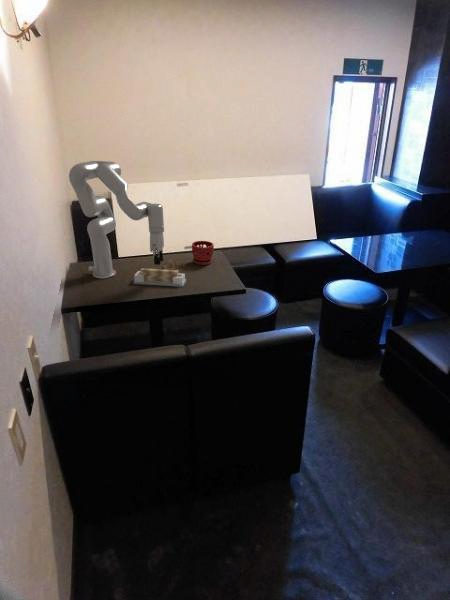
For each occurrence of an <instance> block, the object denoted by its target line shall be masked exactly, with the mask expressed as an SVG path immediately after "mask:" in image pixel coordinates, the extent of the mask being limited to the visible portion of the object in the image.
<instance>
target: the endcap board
mask: <svg viewBox="0 0 450 600" xmlns="http://www.w3.org/2000/svg"><path fill="white" fill-rule="evenodd" d="M178 274H179V277H173V282H162V281H145V279H144V275H141V270H138V271H136V273H135V274H134V277H133V278H134V280H133V284H134V285H149V286H150V285H151V286H167V287H184V285H185V284H186V283H187V279H186V274H185V273H181V272H180V273H178Z"/></svg>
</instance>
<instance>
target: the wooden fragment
mask: <svg viewBox="0 0 450 600" xmlns="http://www.w3.org/2000/svg"><path fill="white" fill-rule="evenodd" d="M181 266H182V265H181V263H180V262H179V261H177V260H174V259H168V261H167V262H166V263H164V265H163V266H162V267H161V269H164V270H178V273H181V270H180V267H181Z"/></svg>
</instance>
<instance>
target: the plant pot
mask: <svg viewBox="0 0 450 600" xmlns="http://www.w3.org/2000/svg"><path fill="white" fill-rule="evenodd" d="M204 246H205V247H204ZM214 247H215V245H214V243H213V242H211V241H209V240H197V241H194V242H192V243H191V253H192V256H193V257H192V258H193V259H192V261H193V263H194V264H196V265H201V266H202V265H209V264H211V263H212V260H213V259H212V257H213V255H214Z"/></svg>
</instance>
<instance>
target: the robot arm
mask: <svg viewBox="0 0 450 600" xmlns="http://www.w3.org/2000/svg"><path fill="white" fill-rule="evenodd" d="M121 175H122V169H121V166H120V165H119V164H118V163H116V162H114V161H105V160H104V161H103V160H92V161H86V162H85V161H84V162H79V163H76V164H75V165H73V166H72V167H71V169H70V170H69V173H68V178H69V182H70V185H71V187H72V189H73V190H74V192H75V194H76V197H77V201H78V203H79V205H80V207H81V210H82V212H83V214H84V215H85V216H86V217H88V218H92V217H93V218H94V217H96V216H97V218H94V219H92V220H91V221H89V222H88V224H87V226H86V227H87V228H86V230H87V234H88V237H89V239H90V245H91V251H92V258H93V266H88V271H89V272H92V277H93V278H95V279H109V278H111V277H114V276H116V274H117V271H116V270H115V269H114V268H113V261H112V253H111V245H110V241H109V238H108V236H107V234H109V233H111V232H114V231H115V229H116V226H117V222H116V218H115V216H114V214H113V211H112V208H111V206H110V204H109V201H108V200H107V199H106V198H105V197H104V196H102V195H95V193H94V190H93V188H92V186H91V185H90V184H89V183H88V182H87V181H88V180H93V179H99V181H101V182H102V184H104V186H105V187H106V188H107V189H109V190H110V192H111V193H112V194H113V195H114V196H115V200H116V202H117V204H118V207H119V209H120V210H121V211H122V212H123V213H124V214H125V215H126V216H128V218H129V219H131V220H133V221H136V222H137V221H140V220H143V219H144V218H147V219H148V221H147V222H148V232H149V250H150V252H151V253H152V255H153V263H154V264H153V265H156V266H157V265H159V266H160V265H161V262H163V261H164V254H163V252H164V247H165V239H164V237H165V236H164V232H165V225H164V224H165V223H164V208H163V205H162V204H160V203H151V202H147V201H140V202H139V203H138V202H137V203H135V202H133V201H132V200H131V199H130V197H129V196H128V193H127V192H128V191H127V190H128V187H129V183H127V181H125V179H124V178H122V176H121Z"/></svg>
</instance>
